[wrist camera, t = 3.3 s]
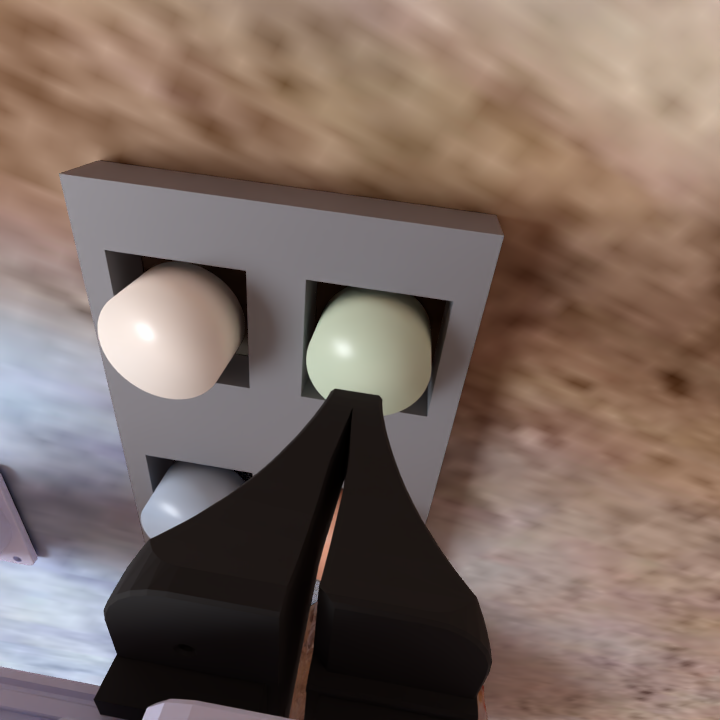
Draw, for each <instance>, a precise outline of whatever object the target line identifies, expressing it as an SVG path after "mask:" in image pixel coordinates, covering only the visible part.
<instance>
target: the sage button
mask: <svg viewBox="0 0 720 720" xmlns="http://www.w3.org/2000/svg"><path fill="white" fill-rule="evenodd" d="M306 365H307V371H308V374H309V377H310V379H311V381H312V383H313V385H314V387H315V388H316V390H317V391H318V392H319V393H320V394H321V395H322V396H323V397H324V398H325V399H326V398H327V397H328V395H329V393H330V392H331V391H332V390H334V389H335V388H336V389H342V390H348V391H355V392H361V393H367V394H374V395H379V396H380V397H381V398H382V399H383V401H382V406H383V416H386V415H391V414H394V413H397V412H400V411H402V410H404V409H406V408H407V407H409V406H411V405H412V404H413V403H414V402H416V401H417V400H418V399H419V398H420V397H421V395H422V394H423V393H424V391H425V390H426V387H427V385H428V383H429V380H430V376H431V324H430V320H429V317H428V315H427V313H426V311H425V309H424V308H423V306H422V305H421V303H420V302H419V301H418V300H417V299H416V298H415V297H414V296H412V295H407V294H401V293H394V292H387V291H380V290H373V289H367V288H360V287H353V286H348V287H346V288H344V289H342V290H341V291H339V292H338V293H337V294H335V295H334V296H333V297H332V298H331V299H330V301H329V302H328V303H327V305H326V306H325V308H324V310H323V312H322V315H321V317H320V320H319V322H318V324H317V327H316V329H315V331H314V334H313V336H312V339H311V341H310V343H309V346H308V350H307V356H306Z"/></svg>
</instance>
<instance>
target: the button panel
mask: <svg viewBox="0 0 720 720" xmlns="http://www.w3.org/2000/svg"><path fill="white" fill-rule="evenodd" d="M59 176H60V180H61V184H62V189H63V193H64V197H65V202H66V206H67V210H68V215H69V219H70V223H71V227H72V232H73V236H74V240H75V245H76V249H77V253H78V258H79V262H80V266H81V270H82V275H83V279H84V283H85V288H86V292H87V296H88V301H89V305H90V309H91V313H92V318H93V322H94V326H95V331H96V335H97V339H98V344H99V348H100V352H101V356H102V361H103V365H104V369H105V374H106V378H107V382H108V387H109V391H110V395H111V399H112V404H113V408H114V412H115V417H116V421H117V425H118V430H119V434H120V438H121V442H122V447H123V451H124V455H125V460H126V464H127V468H128V472H129V477H130V481H131V485H132V490H133V494H134V498H135V503H136V507H137V511H138V515H139V520H140V524H141V513H142V510H143V509H144V507H145V505H146V504H147V502H148V501H149V499H150V498H151V496H152V494H153V493H154V491H155V490H156V488H157V486H158V485H159V483H160V482H161V480H162V478H163V477H164V475H165V474H166V472H167V471H168V469H169V468H170V467H171V466H172V465H173V460H178V461H184V462H190V463H196V464H202V465H208V466H214V467H220V468H226V469H231V470H237V471H243V472H249V473H252V474H253V476H254V475H255V474H257V473H258V472H259V471H260V470H261V469H263V468H264V467H265V466H266V465H267V464H268V463H270V462H271V461H272V460H273V459H274V458H275V457H276V456H277V455H278V454H279V453H280V452H281V451H282V450H283V449H284V448H285V447H286V446H287V445H288V444H289V443H290V442H291V441H292V440H293V439H294V438H295V437H296V436H297V435H298V434H299V433H300V432H301V430H302V429H303V428H304V427H305V426H306V424H307V423H308V422H309V421H310V420H311V419H312V417H313V416H314V415H315V414H316V412H317V411H318V410H319V408H320V407H321V406H322V404H323V403H324V401H325V400H326V399H325V398H324V397H323V396H322V395H321V394H320V393H319V392H318V391H317V390H316V388H315V387H314V385H313V383H312V381H311V379H310V377H309V374H308V371H307V365H306V356H307V350H308V346H309V343H310V341H311V339H312V336H313V334H314V330H315V312H316V294H317V281H319V282H326V283H333V284H339V285H346V286H353V287H360V288H367V289H373V290H380V291H387V292H394V293H401V294H407V295H414V296H421V297H428V298H434V299H441V300H446V304H445V308H444V313H443V317H442V322H441V326H440V331H439V336H438V340H437V345H436V349H435V354H434V358H433V363H432V367H431V376H430V380H429V383H428V385H427V387H426V390H425V391H424V393H423V394H422V395H421V397H420V398H419V399H418V400H417V401H416V402H414V403H413V404H412V405H411V406H409V407H407V408H406V409H404V410H402V411H400V412H397V413H394V414H391V415H386V416H384V421H385V426H386V431H387V435H388V439H389V442H390V445H391V449H392V452H393V455H394V458H395V461H396V464H397V467H398V469H399V472H400V475H401V477H402V479H403V482H404V484H405V487H406V489H407V491H408V493H409V495H410V497H411V499H412V501H413V504H414V505H415V507H416V509H417V511H418V513H419V515H420V517H421V519H422V520H423V522H424V524H425V525H426V521H427V517H428V514H429V510H430V506H431V503H432V499H433V495H434V492H435V488H436V484H437V481H438V477H439V473H440V470H441V466H442V462H443V459H444V455H445V451H446V447H447V444H448V440H449V436H450V433H451V429H452V425H453V422H454V418H455V414H456V411H457V407H458V403H459V400H460V396H461V392H462V389H463V385H464V381H465V378H466V374H467V370H468V366H469V363H470V359H471V355H472V352H473V348H474V344H475V341H476V337H477V333H478V330H479V326H480V322H481V319H482V315H483V311H484V308H485V304H486V300H487V297H488V293H489V289H490V286H491V282H492V278H493V274H494V271H495V267H496V263H497V260H498V256H499V252H500V249H501V245H502V241H503V238H504V234H503V232H502V229H501V226H500V224H499V221H498V218H497V216H496V215H492V214H485V213H478V212H470V211H463V210H456V209H448V208H441V207H434V206H427V205H419V204H412V203H405V202H397V201H390V200H383V199H376V198H368V197H361V196H354V195H347V194H339V193H332V192H325V191H317V190H310V189H303V188H296V187H288V186H281V185H274V184H266V183H259V182H252V181H245V180H237V179H230V178H223V177H215V176H208V175H201V174H194V173H186V172H179V171H172V170H164V169H157V168H150V167H143V166H135V165H128V164H121V163H114V162H106V161H99V160H98V161H95V162H92V163H89V164H86V165H83V166H80V167H77V168H74V169H71V170H68V171H65V172H62V173H59ZM141 255H142V256H149V257H156V258H163V259H169V260H176V261H183V262H190V263H197V264H203V265H210V266H217V267H224V268H231V269H237V270H244V271H246V285H247V317H248V348H249V356H244V355H237V354H234V355H233V357H232V359H231V360H230V362H229V363H228V365H227V366H226V368H225V369H224V371H223V372H222V374H221V375H220V377H219V379H218V380H217V382H216V383H215V384H214V385H213V387H212V388H210V389H209V390H208V391H207V392H205V393H203V394H202V395H199V396H197V397H193V398H189V399H168V398H163V397H159V396H156V395H153V394H150V393H148V392H145V391H143V390H141V389H140V388H138V387H136V386H135V385H133V384H132V383H130V382H129V381H128V380H126V379H125V378H124V377H123V376H122V375H121V374H119V373H118V372H117V370H116V369H115V368H114V367H113V366H112V365H111V363H110V362H109V360H108V359H107V357H106V355H105V354H104V352H103V350H102V347H101V345H100V341H99V337H98V318H99V315H100V312H101V310H102V309H103V307H104V305H105V304H106V303H107V302H108V301H109V300H110V299H111V298H113V297H114V296H115V295H117V294H118V293H119V292H120V291H122V290H123V289H124V288H126V287H127V286H128V285H129V284H131V283H132V282H133V281H135V280H136V279H137V278H138V277H140V276H141V275H142V274H144V273H143V267H142V260H141ZM342 488H344V482H343V485H342ZM141 528H142V533H143V537H144V541H145V544H146V542H147V541H148V540H149V539H150V537H149V536H148V535H147V534H146V532H145V531H144V529H143V527H142V524H141ZM316 581H320V580H318V579H316Z"/></svg>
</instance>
